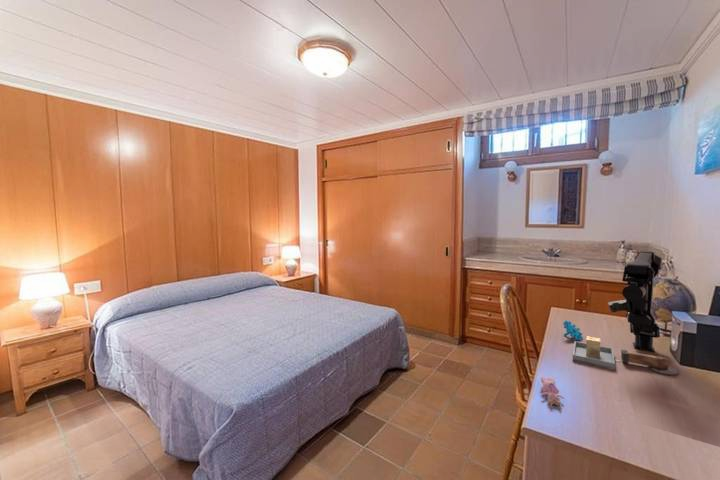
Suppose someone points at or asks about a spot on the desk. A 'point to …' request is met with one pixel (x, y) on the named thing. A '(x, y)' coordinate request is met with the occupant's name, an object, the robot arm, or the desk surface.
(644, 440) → the desk surface
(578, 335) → the blue branched piece
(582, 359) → the stop tray
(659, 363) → the crank lever
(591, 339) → the stop block
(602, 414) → the desk surface
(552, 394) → the rabbit figure
